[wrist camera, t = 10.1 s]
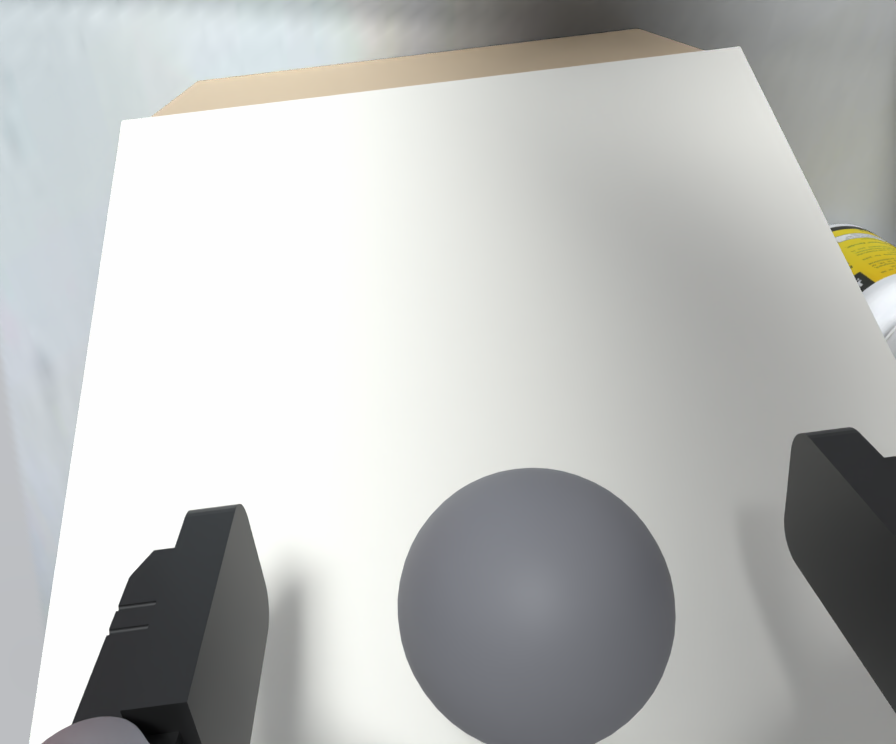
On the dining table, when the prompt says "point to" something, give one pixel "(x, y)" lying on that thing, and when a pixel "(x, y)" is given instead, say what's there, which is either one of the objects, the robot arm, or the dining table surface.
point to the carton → (422, 69)
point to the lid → (482, 407)
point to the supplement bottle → (872, 273)
